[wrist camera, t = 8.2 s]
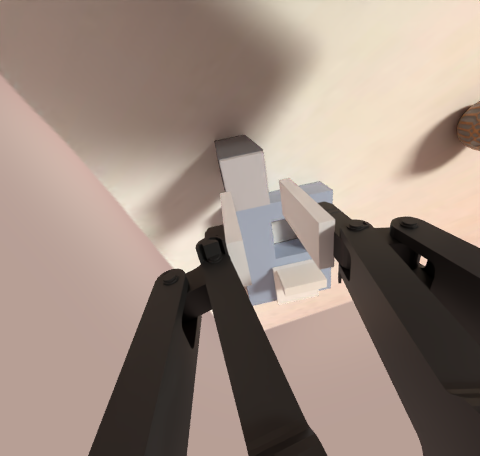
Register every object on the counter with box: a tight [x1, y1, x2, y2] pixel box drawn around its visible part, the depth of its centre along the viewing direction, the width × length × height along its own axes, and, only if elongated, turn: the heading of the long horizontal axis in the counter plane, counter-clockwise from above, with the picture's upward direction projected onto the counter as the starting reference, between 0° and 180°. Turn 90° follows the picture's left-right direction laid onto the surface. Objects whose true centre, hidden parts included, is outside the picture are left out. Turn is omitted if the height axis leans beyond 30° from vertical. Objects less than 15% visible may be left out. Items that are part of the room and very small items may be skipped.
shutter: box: [272, 259, 327, 305], centre depth 35 cm, size 8×7×5 cm
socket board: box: [236, 181, 333, 306], centre depth 36 cm, size 18×14×4 cm
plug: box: [215, 135, 270, 212], centre depth 25 cm, size 5×4×12 cm
